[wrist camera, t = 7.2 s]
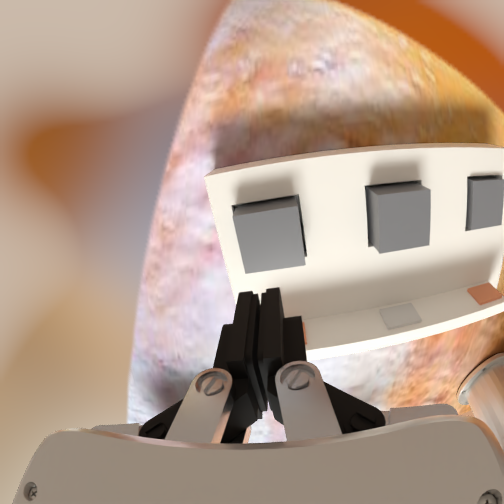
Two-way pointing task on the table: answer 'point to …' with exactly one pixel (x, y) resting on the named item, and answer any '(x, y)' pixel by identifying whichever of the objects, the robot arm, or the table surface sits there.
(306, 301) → the button board
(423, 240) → the button middle
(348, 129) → the table surface
